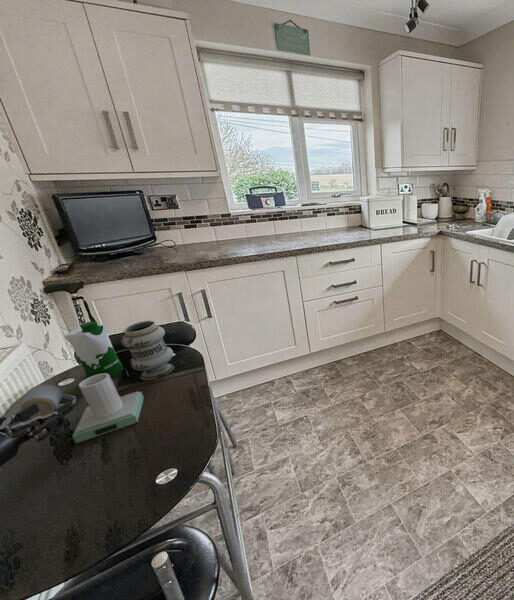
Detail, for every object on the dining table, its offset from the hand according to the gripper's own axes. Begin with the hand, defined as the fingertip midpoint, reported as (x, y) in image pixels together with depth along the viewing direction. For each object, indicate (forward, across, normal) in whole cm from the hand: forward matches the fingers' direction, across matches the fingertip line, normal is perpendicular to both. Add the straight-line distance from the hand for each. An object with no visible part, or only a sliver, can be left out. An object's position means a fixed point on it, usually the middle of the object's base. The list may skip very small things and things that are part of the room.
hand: (54, 405), depth 77 cm
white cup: (+10, 0, +10) cm, 15 cm away
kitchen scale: (+10, 0, +13) cm, 17 cm away
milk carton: (+35, +22, +14) cm, 43 cm away
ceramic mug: (+17, +23, +14) cm, 31 cm away
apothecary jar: (+34, +3, +14) cm, 37 cm away
